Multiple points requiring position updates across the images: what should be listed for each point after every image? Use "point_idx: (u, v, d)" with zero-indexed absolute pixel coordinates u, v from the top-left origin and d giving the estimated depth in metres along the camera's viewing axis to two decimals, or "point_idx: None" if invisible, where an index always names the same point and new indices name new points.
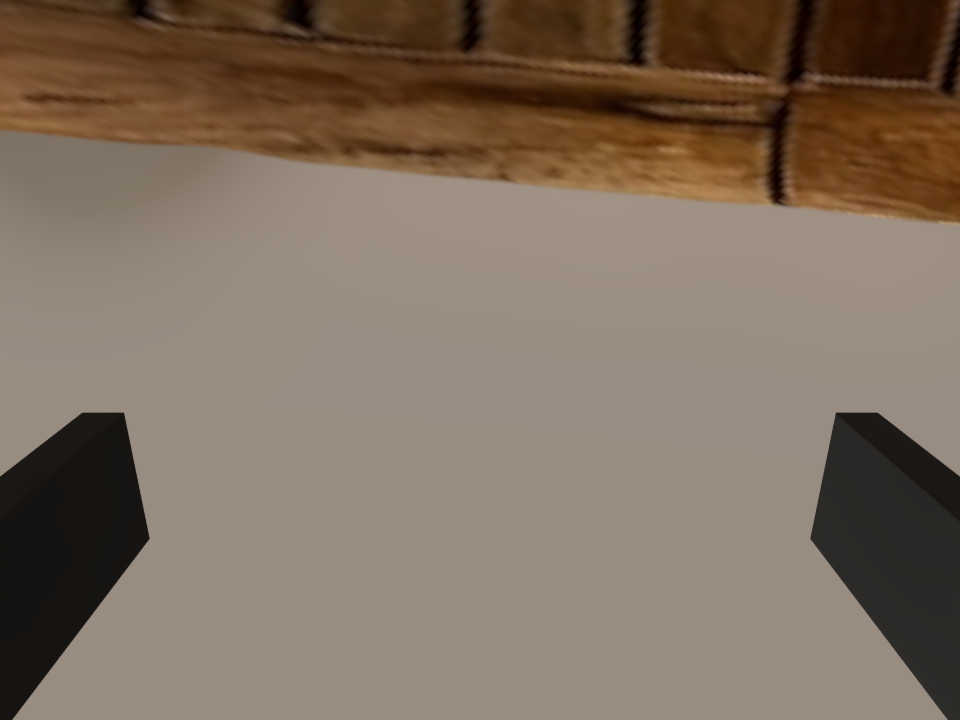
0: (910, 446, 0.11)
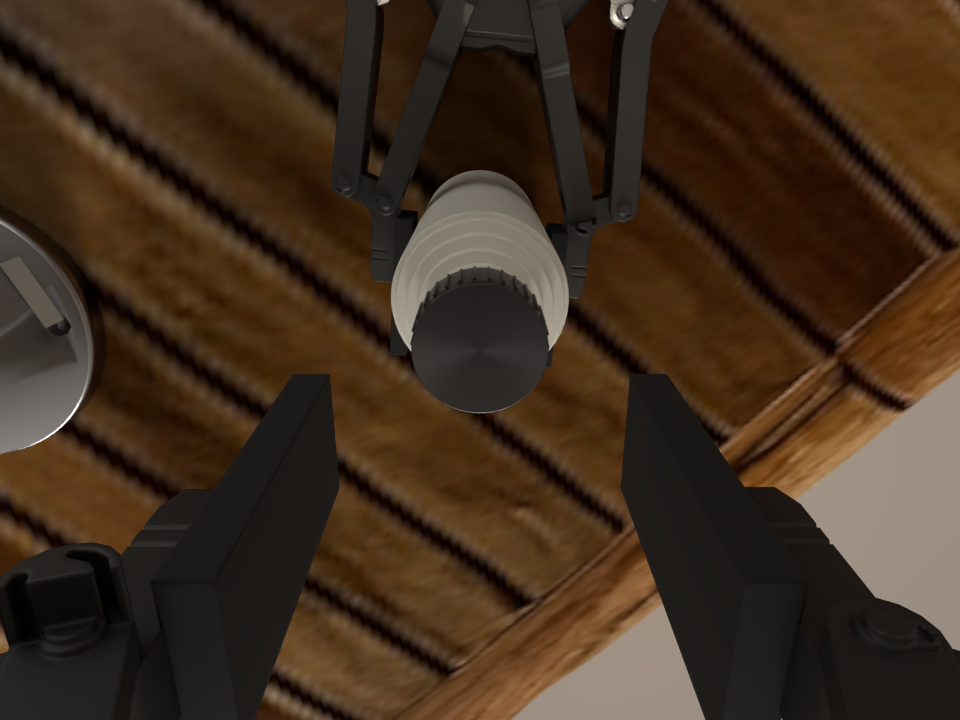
0: (675, 399, 0.13)
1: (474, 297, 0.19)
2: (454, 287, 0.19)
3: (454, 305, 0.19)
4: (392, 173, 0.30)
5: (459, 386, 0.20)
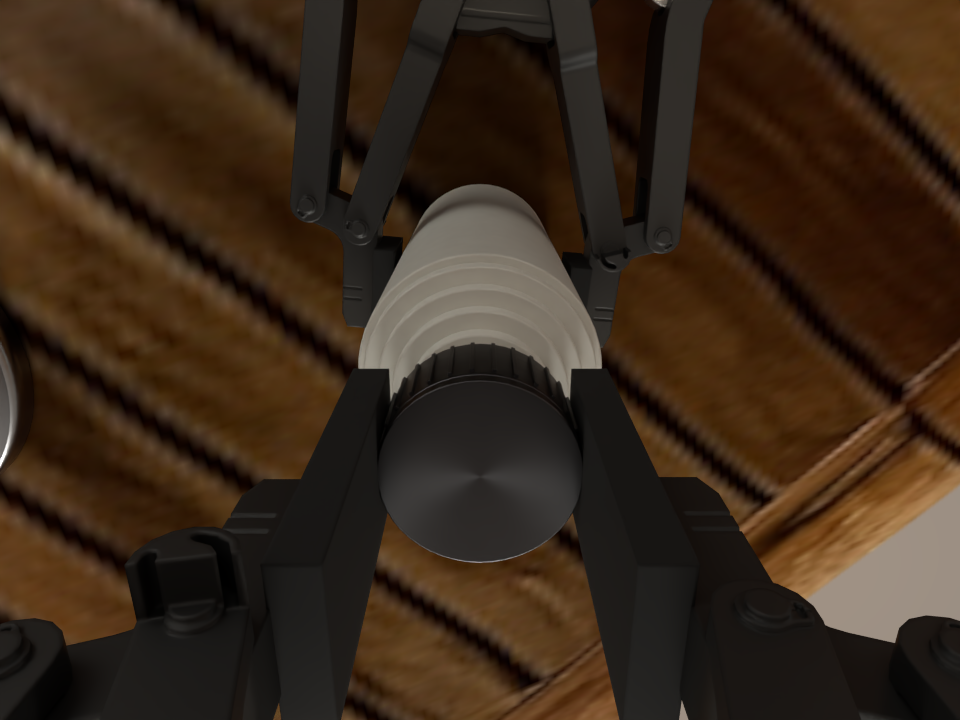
0: (609, 393, 0.13)
1: (471, 400, 0.12)
2: (441, 385, 0.12)
3: (441, 412, 0.12)
4: (368, 193, 0.23)
5: (449, 526, 0.13)
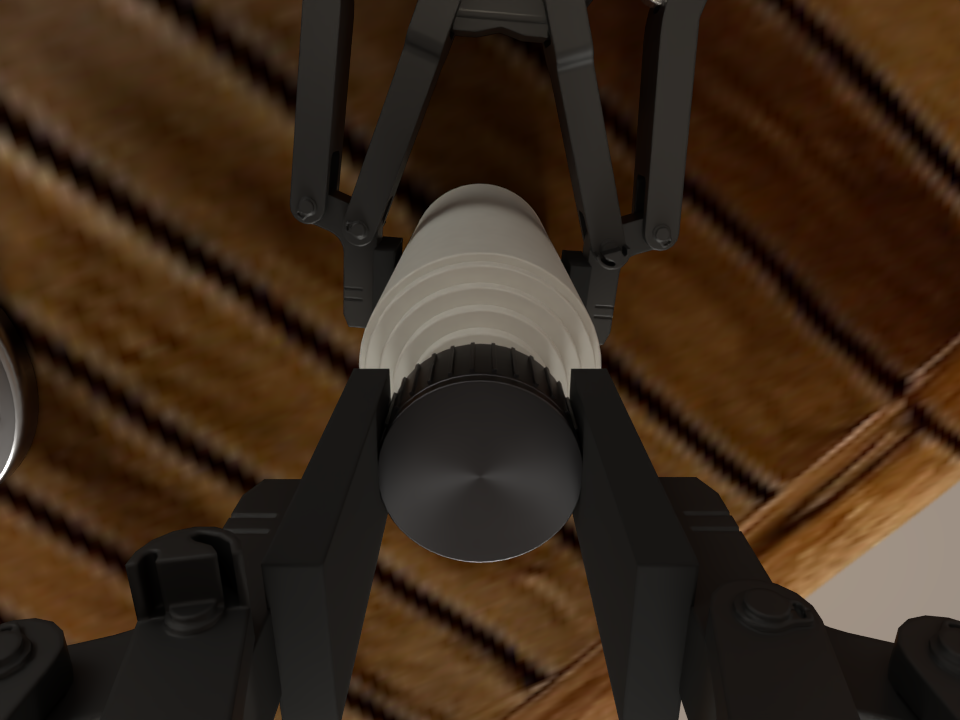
0: (609, 393, 0.13)
1: (413, 518, 0.13)
2: (418, 541, 0.13)
3: (438, 534, 0.13)
4: (367, 194, 0.24)
5: (546, 475, 0.13)
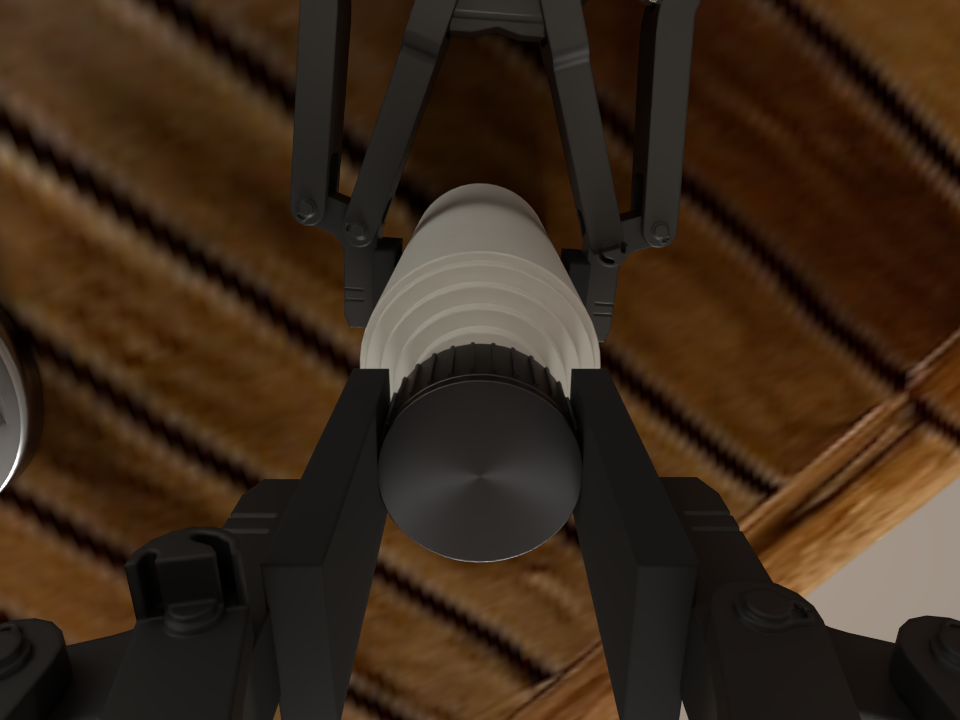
0: (610, 392, 0.13)
1: (554, 506, 0.13)
2: (581, 487, 0.13)
3: (560, 479, 0.13)
4: (367, 195, 0.24)
5: (444, 425, 0.12)
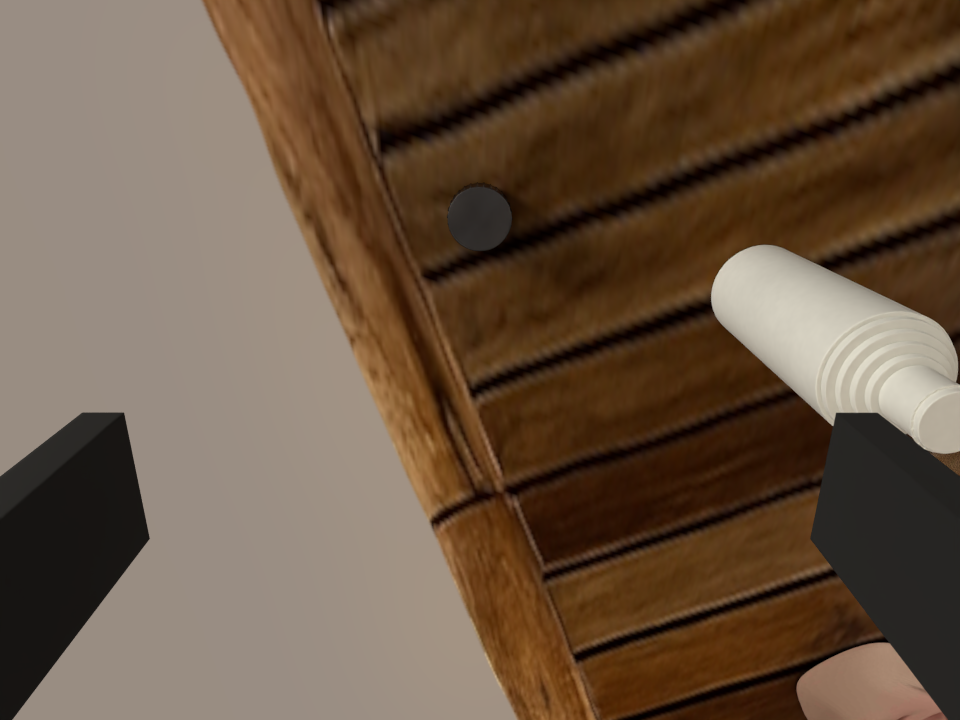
0: (910, 446, 0.11)
1: (477, 193, 0.41)
2: (468, 188, 0.41)
3: (468, 197, 0.41)
4: None
5: (470, 237, 0.42)
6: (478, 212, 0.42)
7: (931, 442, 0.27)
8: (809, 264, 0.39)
